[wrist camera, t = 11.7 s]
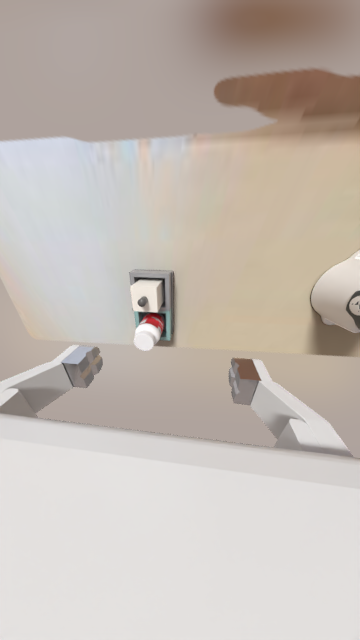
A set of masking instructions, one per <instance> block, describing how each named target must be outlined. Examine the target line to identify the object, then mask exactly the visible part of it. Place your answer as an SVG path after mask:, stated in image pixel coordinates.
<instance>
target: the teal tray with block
mask: <svg viewBox="0 0 360 640" xmlns="http://www.w3.org/2000/svg"><path fill="white" fill-rule="evenodd" d="M129 275H130V283H131V286H130V290H131V298H132V306H133V311H134V314H135V322H136V328H137V327H138V325H139V324H140V323H141V321H142V320H143V318H144V317H145V315H146V314H147V313H160V314H162V315H163V317H164V318H165V326H164V329H163V331H162V334H161V337H160V339H159V340H168V341H170V339H171V335H172V334H173V271H161V270H133V271H131V272H129Z"/></svg>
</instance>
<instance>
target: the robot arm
mask: <svg viewBox="0 0 360 640" xmlns="http://www.w3.org/2000/svg"><path fill="white" fill-rule="evenodd" d="M311 303H312V306H313V308H314V309H315V311H316V312H318V313H319V314H320V315H321V318H322V321H323V323H325V324H327V325H336V324H337V325H339V326H341V327H343V328H345V329H347V330H349V331H351V332H353V333H358V332H359V333H360V250H358V251H357V252H356V253H355V254H353V255H352V256H351V257H350V258H349V259H347V260H345V261H343V262H341V263H339V264H337V265H335V266H334V267H332V268H331V269H329V270H328V271H327V272H325V273H324V274H323V275H322V276H321V277H320V279H319V280H318V281H317V283H316V284H315V286H314V288H313V291H312V294H311ZM99 353H100V350H99V348H98V347H93V346H84V345H71V346H70V347H69V348H68V349H67V350H65V351H64V352H63V353H62V354H60V355H59V356H58V357H57V358H56V359H54V360H53V361H52V362H47V363H45V364H43V365H40V366H38V367H35V368H33V369H31V370H28V371H25V372H23V373H21V374H18V375H16V376H13V377H11V378H9V379H6V380H4V381H1V382H0V640H360V458H355V457H353V455H352V454H351V453H350V451H349V450H348V448H347V447H346V446H345V444H344V443H343V441H342V440H341V439H340V437H339V436H338V434H337V433H336V432H335V430H334V429H333V427H332V426H331V425H330V423H329V422H328V421H326V420H325V419H324V418H323V417H321V416H320V415H319V414H317V413H316V412H315V411H313V410H312V409H311V408H309V407H308V406H307V405H305V404H304V403H302V402H301V401H300V400H299V399H297V398H296V397H295V396H293V395H292V394H291V393H289V392H288V391H287V390H285V389H284V388H283V387H281V386H280V385H279V384H277V383H275V382H273V381H272V379H271V377H270V375H269V374H268V372H267V370H266V368H265V366H264V364H263V362H262V360H260V359H245V358H232V361H231V365H232V367H231V368H230V369H229V383H230V386H231V387H232V392H231V393H232V397H233V401H234V403H237V404H244V405H250V406H251V408H252V409H253V410H254V411H255V413H256V414H257V415H258V416H259V417H260V419H261V420H262V421H263V422H264V424H265V425H266V426H267V427H268V428H269V430H270V431H271V432H272V433H273V435H274V436H275V437H276V438H277V439H278V441H277V442H276V444H275V446H274V447H267V446H259V445H251V444H243V443H235V442H227V441H219V440H211V439H202V438H194V437H187V436H178V435H171V434H163V433H155V432H147V431H139V430H131V429H123V428H114V427H107V426H99V425H91V424H83V423H75V422H66V421H58V420H51V419H43V418H38V417H37V415H36V414H35V413H37V412H38V411H40V410H41V409H43V408H44V407H45V406H47V405H48V404H50V403H51V402H53V401H54V400H56V399H57V398H58V397H60V396H61V395H63V394H64V393H66V392H67V391H69V390H70V389H72V388H73V387H82V388H87V387H88V386H89V384H90V383H91V382H92V380H93V379H94V375H95V374H97V373H99V371H100V370H101V367H102V365H103V362H102V358H101V357H100V356H99Z"/></svg>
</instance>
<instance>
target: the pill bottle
mask: <svg viewBox="0 0 360 640" xmlns="http://www.w3.org/2000/svg"><path fill="white" fill-rule="evenodd" d="M164 326H165V318H164V317H163V315H162V314H160V313H147V314H146V315H145V317H144V318H143V320H142V321H141V323H140V324H139V325H138V327H137V328H136V331H135V338H134V344H135V346H136V347H137V348H138V349H140V350H143V351H148V350H151V349H152V348H153V346H154V345H155V344H156V343H157V342H158V341H159V339H160V337H161V334H162V331H163V329H164Z"/></svg>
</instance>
